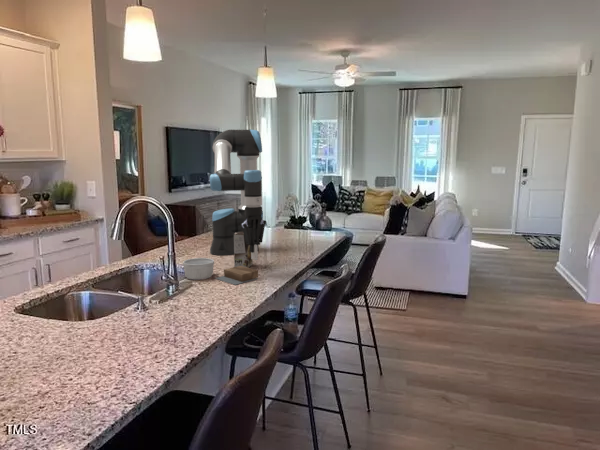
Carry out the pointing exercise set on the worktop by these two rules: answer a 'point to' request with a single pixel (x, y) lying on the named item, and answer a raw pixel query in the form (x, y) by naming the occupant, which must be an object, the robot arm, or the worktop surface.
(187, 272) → the ramekin
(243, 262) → the coffee box
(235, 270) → the wooden block
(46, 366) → the worktop surface
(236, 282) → the mat
